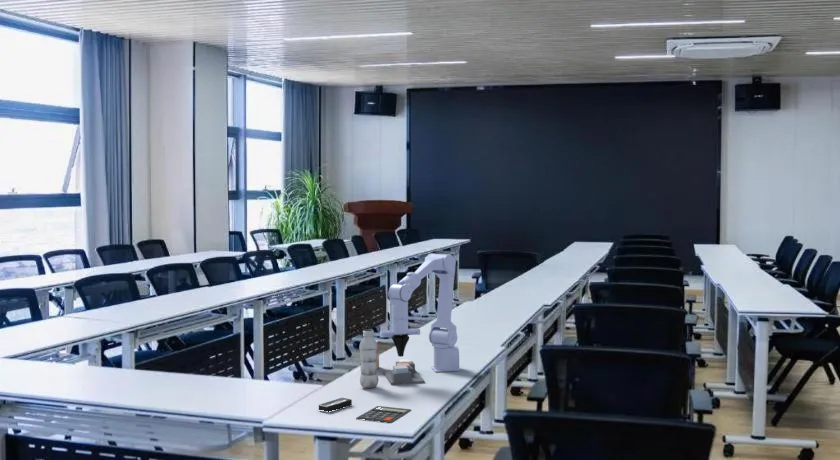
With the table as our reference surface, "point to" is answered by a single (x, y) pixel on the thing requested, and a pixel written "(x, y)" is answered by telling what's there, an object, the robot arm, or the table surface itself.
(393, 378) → the panel
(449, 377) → the table surface
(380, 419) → the calculator
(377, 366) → the small box
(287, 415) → the table surface
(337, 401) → the multiport hub
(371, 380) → the plastic bottle
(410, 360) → the ivory key
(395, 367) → the slate key
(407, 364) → the terracotta key
